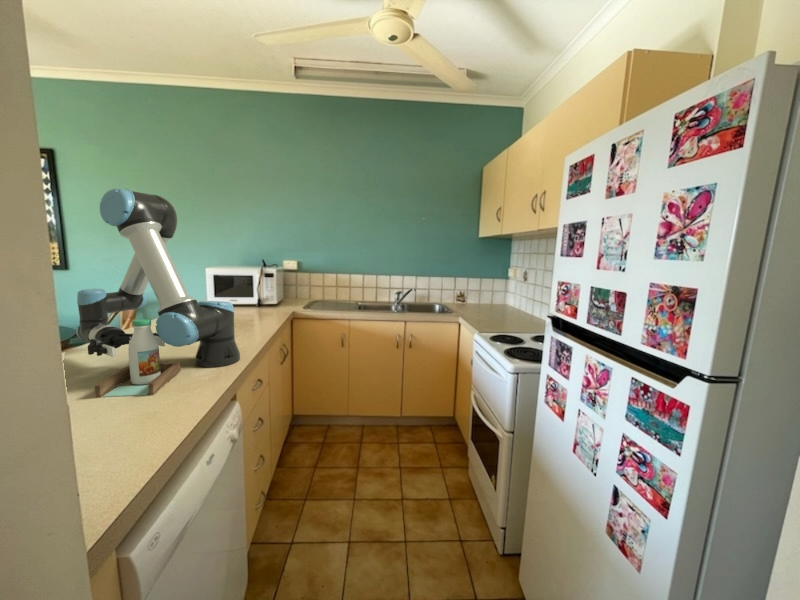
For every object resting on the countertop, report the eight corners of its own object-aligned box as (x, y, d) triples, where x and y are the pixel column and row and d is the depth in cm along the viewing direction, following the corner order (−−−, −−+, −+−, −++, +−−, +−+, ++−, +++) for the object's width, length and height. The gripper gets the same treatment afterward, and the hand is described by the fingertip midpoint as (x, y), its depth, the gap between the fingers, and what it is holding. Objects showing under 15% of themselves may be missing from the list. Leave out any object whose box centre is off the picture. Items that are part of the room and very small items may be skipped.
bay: (180, 372, 115) (179, 362, 115) (153, 394, 98) (152, 383, 97) (132, 373, 112) (131, 363, 112) (95, 397, 95) (94, 385, 94)
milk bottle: (128, 387, 102) (122, 323, 99) (134, 378, 109) (129, 318, 106) (158, 383, 106) (154, 321, 103) (162, 374, 112) (158, 316, 110)
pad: (158, 385, 104) (158, 384, 104) (147, 395, 97) (147, 394, 97) (117, 387, 102) (117, 386, 102) (103, 397, 95) (103, 396, 95)
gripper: (149, 339, 127) (181, 349, 118) (60, 356, 105) (91, 370, 96) (148, 320, 126) (180, 328, 116) (57, 333, 104) (88, 344, 95)
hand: (140, 347), depth 106 cm, fingers open, 13 cm apart
